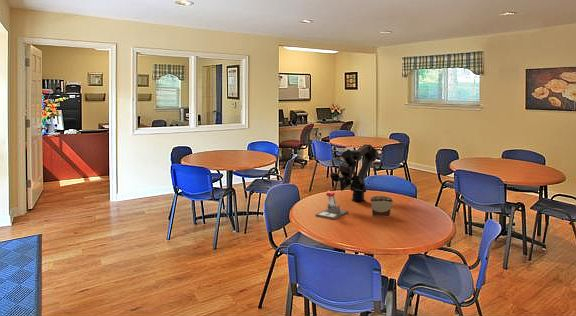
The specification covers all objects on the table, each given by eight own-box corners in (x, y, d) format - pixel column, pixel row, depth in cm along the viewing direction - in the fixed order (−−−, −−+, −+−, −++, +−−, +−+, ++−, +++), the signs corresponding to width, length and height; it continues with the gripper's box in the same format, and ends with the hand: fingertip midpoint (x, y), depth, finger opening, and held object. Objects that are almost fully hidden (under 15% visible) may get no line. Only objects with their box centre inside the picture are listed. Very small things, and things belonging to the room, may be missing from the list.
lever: (331, 206, 240) (327, 190, 235) (338, 207, 237) (334, 191, 232) (329, 208, 239) (325, 192, 233) (336, 209, 236) (332, 193, 231)
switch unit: (329, 209, 247) (329, 201, 246) (347, 212, 240) (348, 204, 239) (315, 216, 233) (315, 207, 233) (334, 219, 227) (335, 210, 226)
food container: (390, 213, 238) (391, 196, 237) (392, 216, 232) (393, 198, 231) (368, 212, 240) (369, 195, 238) (369, 216, 234) (370, 198, 232)
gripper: (331, 159, 251) (322, 180, 244) (360, 161, 241) (352, 184, 233) (337, 169, 259) (328, 191, 251) (366, 173, 248) (357, 195, 241)
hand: (341, 190), depth 244 cm, fingers closed
